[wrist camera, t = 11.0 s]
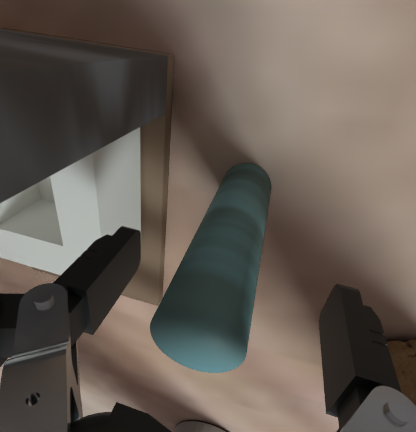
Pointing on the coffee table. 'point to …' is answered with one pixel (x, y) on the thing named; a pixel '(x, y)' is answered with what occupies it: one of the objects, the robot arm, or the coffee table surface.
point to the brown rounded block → (405, 366)
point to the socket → (74, 207)
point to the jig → (88, 124)
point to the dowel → (217, 278)
